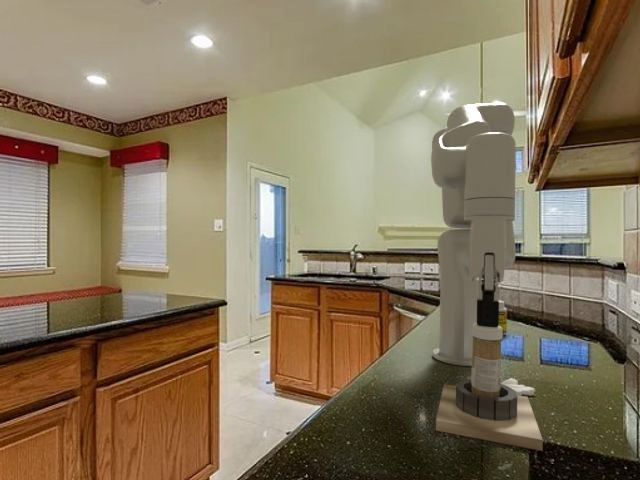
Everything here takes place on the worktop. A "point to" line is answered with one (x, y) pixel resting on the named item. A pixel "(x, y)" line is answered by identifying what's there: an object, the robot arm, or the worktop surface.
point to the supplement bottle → (502, 317)
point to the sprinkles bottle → (486, 360)
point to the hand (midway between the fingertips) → (487, 325)
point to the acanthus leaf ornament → (518, 387)
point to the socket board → (488, 416)
